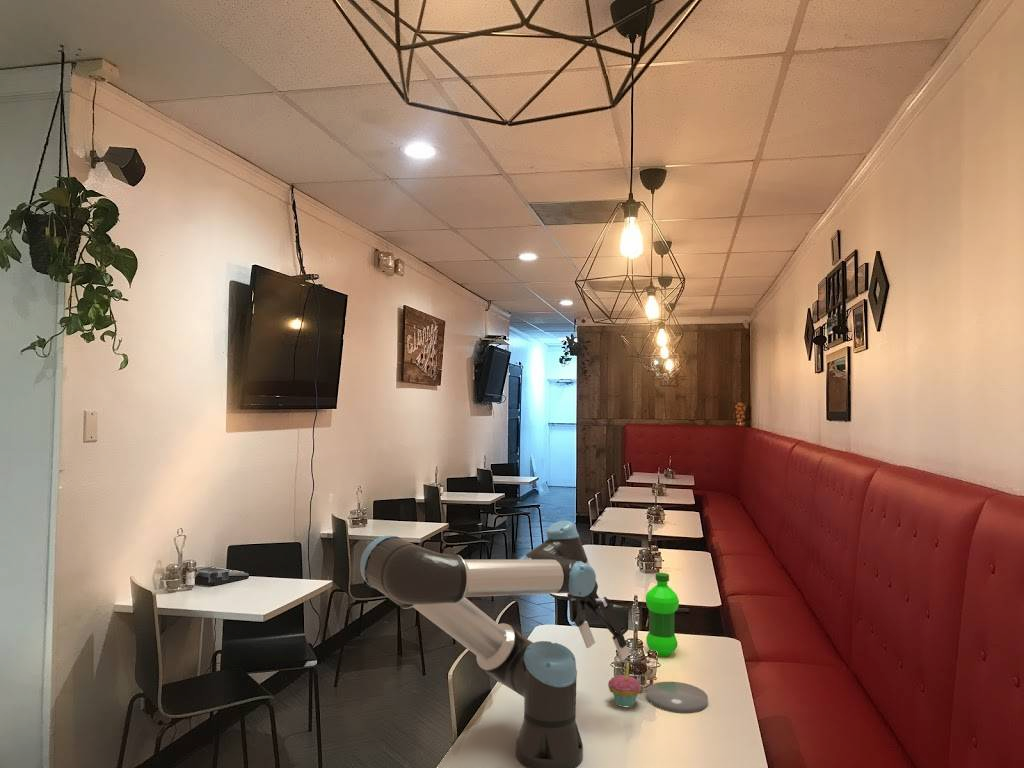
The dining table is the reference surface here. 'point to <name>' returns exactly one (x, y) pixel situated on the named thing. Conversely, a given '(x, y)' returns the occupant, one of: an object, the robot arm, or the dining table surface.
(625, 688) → the cupcake
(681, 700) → the slate plate
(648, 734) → the dining table surface
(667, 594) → the plastic bottle
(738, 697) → the dining table surface
